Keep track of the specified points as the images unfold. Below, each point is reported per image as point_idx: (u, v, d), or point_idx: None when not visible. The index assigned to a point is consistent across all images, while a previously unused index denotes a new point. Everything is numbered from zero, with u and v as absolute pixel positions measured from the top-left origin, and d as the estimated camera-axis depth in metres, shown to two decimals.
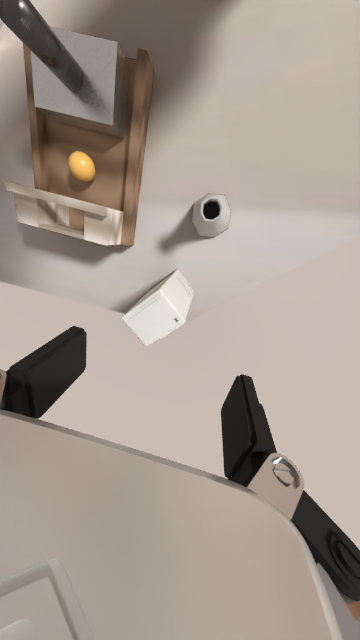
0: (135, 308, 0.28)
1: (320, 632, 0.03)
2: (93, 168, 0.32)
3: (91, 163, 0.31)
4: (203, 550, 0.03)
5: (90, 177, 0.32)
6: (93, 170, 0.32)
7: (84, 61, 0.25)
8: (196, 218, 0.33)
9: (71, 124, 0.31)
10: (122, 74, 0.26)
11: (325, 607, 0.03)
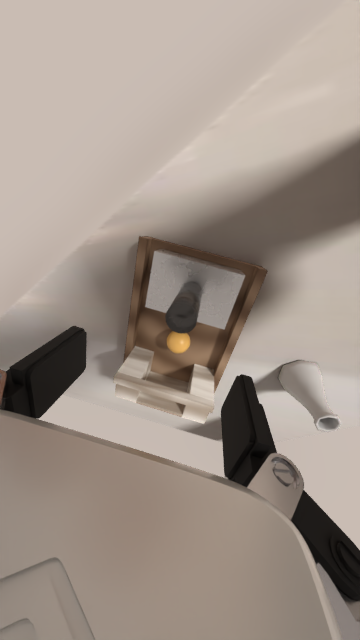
0: None
1: (320, 632, 0.03)
2: None
3: (189, 341, 0.31)
4: (203, 550, 0.03)
5: None
6: (189, 345, 0.32)
7: (206, 284, 0.25)
8: (290, 389, 0.32)
9: None
10: None
11: (325, 607, 0.03)
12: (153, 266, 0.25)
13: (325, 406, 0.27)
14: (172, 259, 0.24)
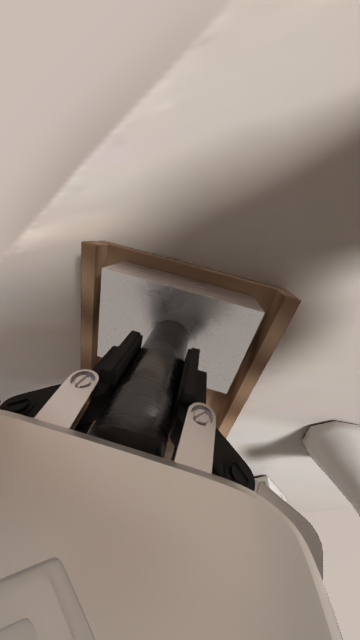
0: None
1: (320, 632, 0.03)
2: None
3: None
4: (203, 550, 0.03)
5: None
6: None
7: (196, 324, 0.14)
8: (323, 466, 0.22)
9: None
10: None
11: (325, 607, 0.03)
12: (103, 293, 0.14)
13: None
14: (134, 282, 0.14)
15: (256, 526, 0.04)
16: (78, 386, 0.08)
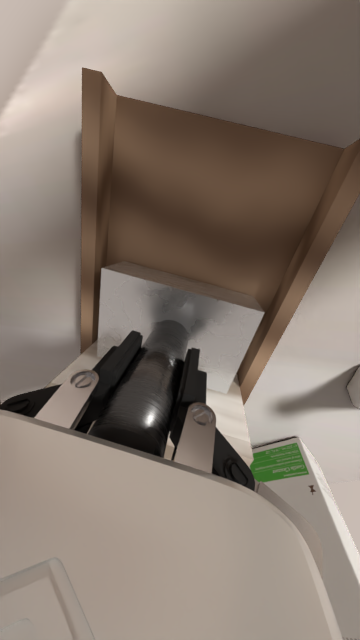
0: None
1: (320, 632, 0.03)
2: None
3: None
4: (203, 550, 0.03)
5: None
6: None
7: (195, 324, 0.14)
8: None
9: None
10: None
11: (325, 607, 0.03)
12: (103, 293, 0.14)
13: None
14: (134, 282, 0.14)
15: (256, 526, 0.04)
16: (78, 386, 0.08)
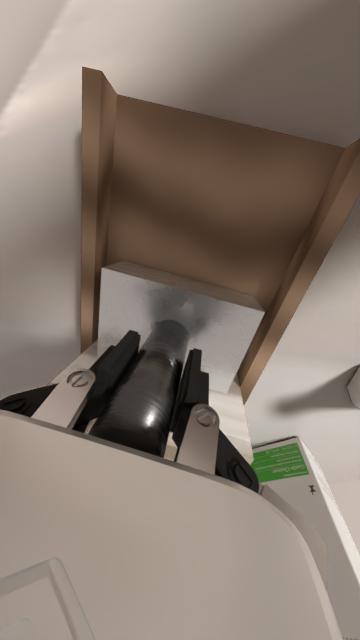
0: None
1: (320, 632, 0.03)
2: None
3: None
4: (203, 550, 0.03)
5: None
6: None
7: (196, 324, 0.14)
8: None
9: None
10: None
11: (325, 607, 0.03)
12: (103, 293, 0.14)
13: None
14: (134, 282, 0.14)
15: (256, 526, 0.04)
16: (75, 385, 0.08)
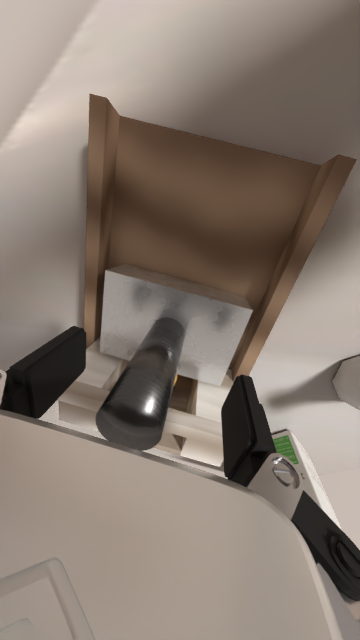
0: None
1: (320, 632, 0.03)
2: (176, 380, 0.21)
3: None
4: (203, 550, 0.03)
5: None
6: (176, 379, 0.21)
7: (191, 321, 0.16)
8: None
9: None
10: None
11: (325, 607, 0.03)
12: (106, 293, 0.16)
13: None
14: (135, 283, 0.15)
15: (256, 526, 0.04)
16: None
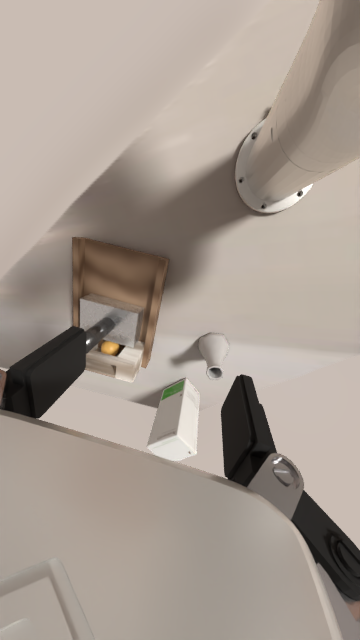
0: (158, 442, 0.36)
1: (320, 632, 0.03)
2: (118, 350, 0.44)
3: (118, 350, 0.44)
4: (203, 550, 0.03)
5: (116, 346, 0.43)
6: (118, 350, 0.44)
7: (116, 318, 0.38)
8: (202, 354, 0.41)
9: None
10: (140, 318, 0.39)
11: (325, 607, 0.03)
12: (81, 307, 0.38)
13: (216, 361, 0.36)
14: (92, 303, 0.37)
15: (256, 526, 0.04)
16: None
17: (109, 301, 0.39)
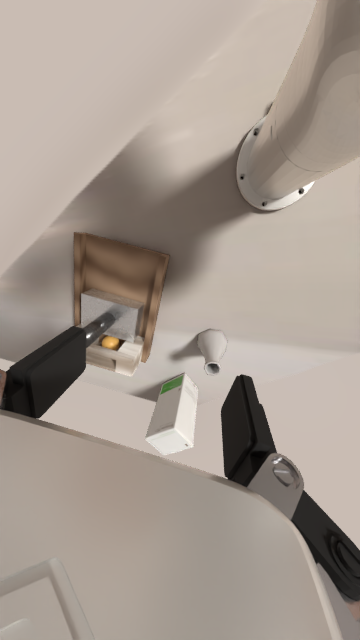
0: (156, 435, 0.37)
1: (320, 632, 0.03)
2: (118, 346, 0.45)
3: None
4: (203, 550, 0.03)
5: (116, 342, 0.44)
6: (118, 345, 0.44)
7: (116, 314, 0.39)
8: None
9: None
10: (140, 313, 0.40)
11: (325, 607, 0.03)
12: (82, 302, 0.39)
13: (214, 357, 0.37)
14: (93, 298, 0.38)
15: (256, 526, 0.04)
16: None
17: (110, 296, 0.40)
